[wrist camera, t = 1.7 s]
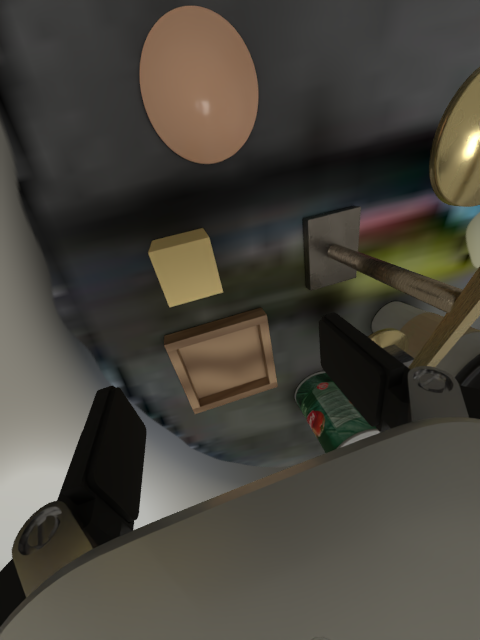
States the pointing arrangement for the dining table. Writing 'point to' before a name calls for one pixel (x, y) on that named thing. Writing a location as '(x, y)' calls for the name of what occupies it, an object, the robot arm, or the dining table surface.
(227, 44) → the terracotta dish
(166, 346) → the walnut tray
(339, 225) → the balance
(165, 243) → the ochre block
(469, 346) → the coffee cup
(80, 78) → the dining table surface
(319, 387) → the canned tomato
